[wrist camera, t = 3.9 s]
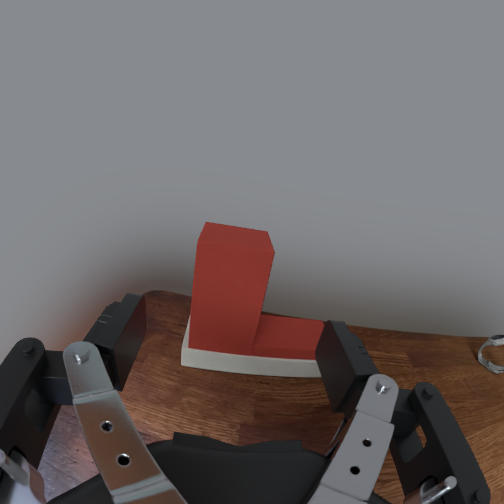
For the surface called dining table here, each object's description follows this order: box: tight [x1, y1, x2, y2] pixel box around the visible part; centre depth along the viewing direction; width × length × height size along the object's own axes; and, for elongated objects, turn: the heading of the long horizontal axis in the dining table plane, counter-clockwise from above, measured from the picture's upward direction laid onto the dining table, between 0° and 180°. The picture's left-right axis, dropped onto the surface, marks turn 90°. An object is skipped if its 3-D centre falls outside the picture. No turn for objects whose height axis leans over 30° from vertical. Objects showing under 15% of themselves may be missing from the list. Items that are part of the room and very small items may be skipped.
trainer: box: [181, 222, 324, 377], centre depth 22 cm, size 13×5×11 cm, turn 93°
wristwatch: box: [478, 335, 504, 374], centre depth 22 cm, size 4×6×5 cm, turn 27°
